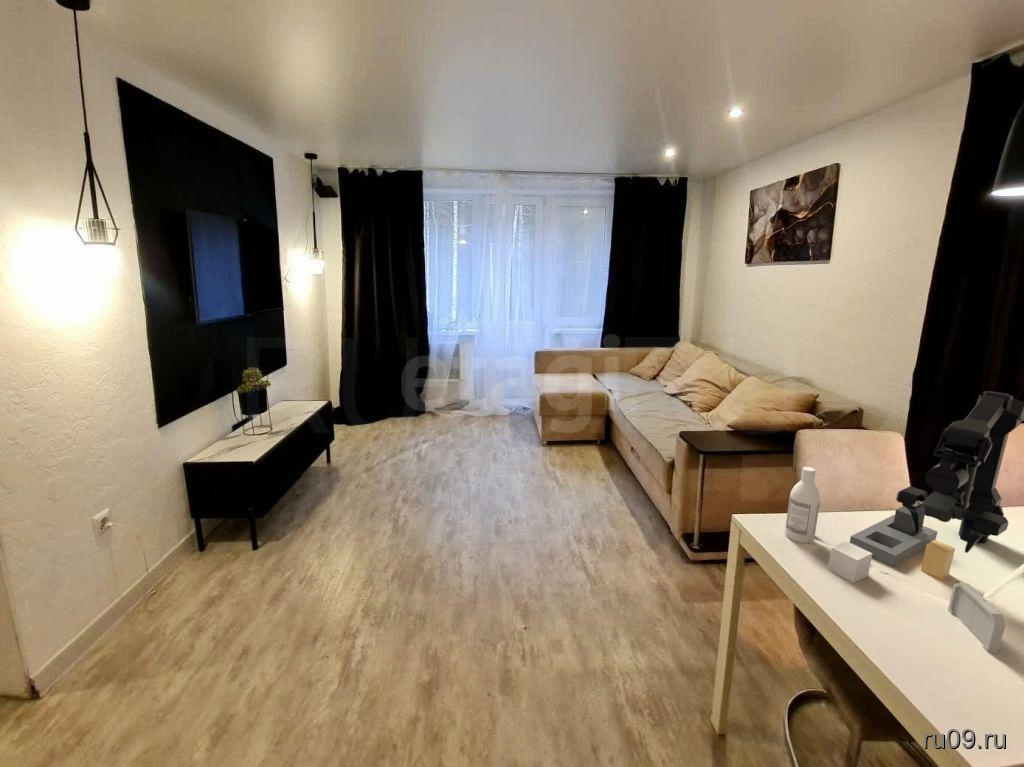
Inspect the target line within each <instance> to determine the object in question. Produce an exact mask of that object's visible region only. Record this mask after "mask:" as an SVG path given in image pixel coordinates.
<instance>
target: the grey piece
mask: <svg viewBox="0 0 1024 767" xmlns="http://www.w3.org/2000/svg"><path fill="white" fill-rule="evenodd" d="M894 517H895V514H891V515H890V516H889V517H887V518H885V519H882V520H880V521H879V522H877V523H874V524H872V525H870V526H868V527H867V528H864V529H863V530H860V531H859V532H856V533H855V534H852V535H851V536H850V539H849V543H851V544H853V545H855V546H858V547H860V548H862V549H864V550H866V551H868V552H870V553H872V558H873V559H875V560H876V561H877V560H878V561H879V562H882V563H884V564H886V565H888V566H891V567H895V566H897V565H899V564H900V563H902V562H904V561H905V560H907V559H910V557H912V556H914V555H916V554H917V553H919V552H920V551H922V550H925V549H926V544H928V543H930V542H931V541H933V540H936V541H937V536H938V531H937V530H936V529H932V528H930V527H927V526H925V525H923V527H922V530H921V532H920V533H919V534H917V535H915V536H910V535H908V534H905V533H903V532H900V531H898V530H895V529H893V528H892V527H893V522H894Z"/></svg>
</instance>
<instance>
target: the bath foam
mask: <svg viewBox="0 0 1024 767" xmlns="http://www.w3.org/2000/svg"><path fill="white" fill-rule="evenodd" d="M816 472H817V471H816V469H815V468H814V467H810V466H804V467H802V472H801V477H800V478H801V480H799V481H798V482H797V483H796V484H794V486H793V488H791V491H790V494H789V499H788V508H787V515H786V520H785V530H784V534H785V536H786V537H787V538H788V539H790V540H791V541H793V542H796V543H801V544H810V543H812V542H814V540H815V535H816V530H817V524H818V518H819V512H820V504H821V494H820V491H819V488H818V487H817V485H816V484H815V476H816Z"/></svg>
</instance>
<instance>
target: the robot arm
mask: <svg viewBox="0 0 1024 767" xmlns="http://www.w3.org/2000/svg"><path fill="white" fill-rule="evenodd" d="M1022 422H1024V401H1022V400H1020V399H1017V398H1014V397H1013V395H1010V394H1009V393H1003V392H997V391H991V390H987V391H983V392H982V393H981V394H979V396H978V398H977V401H976V404H975V406H974V407H973V408H972V410H971V411H970V412H969V414H968V415H967V416H966V417H965V418H964V419H960V420H956V421H953V422H952V423H950V424H949V425H948V426H947V428H943V430H942V432H941V434H940V437H939V438H938V439H939V440H938V441H937V444H936V446H935V448H934V450H933V453H932V456H934V457H937V458H940V460H939V463H938V464H937V465H935V466H933V467H931V468H929V470H927V471H926V473H925V476H924V477H925V482H926V484H927V486H928V487H929V488H930V489H931V490H933V491H931V493H930V494H929V495H928V492H927V491H926V490H923V489H920V488H917V487H913V486H911V485H909V486H907V487H905V488H903V489H901V490H899V491H898V492H897V493H896V497H895V498H896V499H895V500H896V502H898V503H901V504H902V507H903V506H904V507H906V508H907V509H908V510H909V511H910V513H911V515H912V518H913V521H914V525H915V529H916V533H917V534H919V533H920V532H921V530H922V527H923V526H924V521H925V517H931V518H933V519H935V520H938V521H940V522H942V523H949V522H950V521H951V520H955V519H956V520H959V521H960V526H959V531H958V536H959V539H960V540H962V541H965V542H966V545H965V547H964V553H966V554H968V553H969V552H971V550H972V549H973V548H974V546H975V545H976V544H986V543H988V540H989V537H991V536H995V537H998V536H999V535H1001V534H1002V533H1004V532H1006V531H1007V529H1008V526H1009V520H1008V519H1007V517H1005V513H1004V511H1003V507H1002V506H1001V504H1002V503H1001V501H1002V497H1001V495H1000V492H999V491H998V489H997V488H996V487H997V486H996V485H997V482H998V477H999V474H1000V470H1001V466H1002V461H1003V458H1004V455H1005V449H1006V446H1007V443H1008V438H1009V434H1010V433H1011V432H1013V431H1014V430H1016V429H1017V428H1018V427H1019V426H1020V425H1021V423H1022Z"/></svg>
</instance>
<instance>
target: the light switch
mask: <svg viewBox="0 0 1024 767" xmlns="http://www.w3.org/2000/svg"><path fill="white" fill-rule="evenodd" d="M951 591H952V592H951V595H950V600H949V604H948V608H947V612H948V613H949V614H951V615H952V614H954V615H953V616H955V617H956V618H957V617H958V618H957V619H958V620H959V619H960V620H961V621H962V622H961V621H960V620H959V621H960V622H961V623H962V624H963V626H966V627H967V628H968V629H969V630H968V629H967V628H966V627H965V628H966V629H967V630H968V631H969V632H970V633H971V634H972V636H974V637H975V638H976V639H977V640H978V641H979V643H980V644H982V648H983V649H984V650H985V652H986V653H989V654H997V655H998V654H999V649H1000V646H1001V642H1002V640H1003V636H1004V632H1005V628H1006V622H1005V619H1004V617H1003V614H1002V613H1001V612H1000V611H999V610H998V609H996V608H995V607H994V606H993V605H992V604H991V603H990V602H989V601H988V600H987V599H986V598H985V596H983V595H981V594H980V593H979V592H978V591H977V590H976V589H975V588H974V587H973V586H972V585H971V584H969V583H966V582H965V583H964V582H957V583H954V584H953V587H952V590H951Z"/></svg>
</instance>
